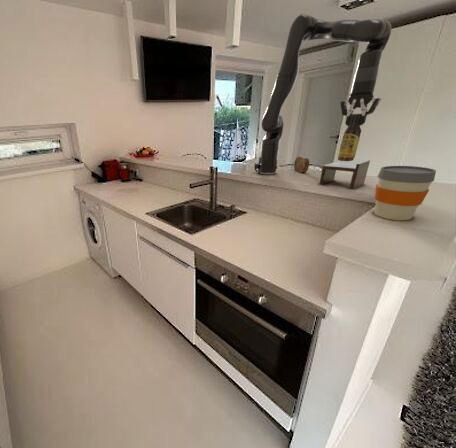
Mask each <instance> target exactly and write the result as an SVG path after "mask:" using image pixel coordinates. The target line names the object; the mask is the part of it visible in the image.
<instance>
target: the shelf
mask: <svg viewBox="0 0 456 448" xmlns="http://www.w3.org/2000/svg"><path fill="white" fill-rule="evenodd" d="M370 162H371V160H370V159H367V160H364V161H361V162H358V163H350V162H338V161H337V162H336V161H334V162H330V163H326V164H324V165H322V167H321V173H320V179H319V184H318V185H325V184H329V183H332V182H333V181H335V177H336V173H337V172H336V171H338V172H339V171H340V172H348V173H349V172H351V173H352V176H351V180H350V184H349V189H350V190H354V189H357V188H358V187H360V186H363V185H365V181H366V177H367V174H368V169H369V167H370Z"/></svg>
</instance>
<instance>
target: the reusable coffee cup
mask: <svg viewBox="0 0 456 448" xmlns="http://www.w3.org/2000/svg"><path fill="white" fill-rule="evenodd" d="M436 173H437V170H436V169H433V168H431V167H423V166H415V165H413V166H412V165H386V166H381V168H380V169H379V172H378V175H377V178H378V181H377V184H376V185H375V191H374V200H375V205H374V215H376V216H377V217H380V218H383V219H388V220H394V221H409V220H411V219H412V218H413V216H414V215H415V212H416V210H417V209H418V207H419V206H421V205H422V204H423V202H424V200H425V199H426V197H427V195H428V193H429V191H430V189H429V188H430V186H431V184H432V183H433V182H435V177H436Z"/></svg>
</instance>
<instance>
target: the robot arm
mask: <svg viewBox="0 0 456 448" xmlns="http://www.w3.org/2000/svg"><path fill="white" fill-rule="evenodd" d="M391 34H392V23H391V22H389V21H388V20H383V19H374V18H373V19H362V20H361V19H339V20H332V21H328V20H327V21H326V20H322V19H318V18H315V16H312V15H309V14H304V13H303V14H302V13H301V14H299V15H298V16H296V18H294V20H293V21H292V23H291V25H290V28H289V32H288V36H287V41H286V44H285V45H286V46H285V50H284V53H283V57H282V60H281V64H280V67H279V71H278V73H277V76H276V80H275V83H274V87H273V90H272V92H271V93H272V94H271V95H270V99H269V103H268V106H267V108H266V110H265V113H264V115H263V118H262V121H261V129H262V130H263V132H265V133H266V134H265V136H264V137H263V139H262V142H261V151H260V157H259V158H258V162H255V163H254V171H255V172H256V173H258V174H260V175H267V176H270V175H275V174H277V170H278V159H279V150H280V143H281V139H282V138H283V137H282V136H283V130H284V125H285V124H284V123H285V119H284V117H283V115H282V114H280V113H281V110H282V107H283V105H284V103H285V102H286V100H287V99H288V97H289V96H290V94H291V93H292V91H293V89H294V86H295V84H296V81H297V78H298V76H299V54H300V49H301V47H302V44H303V42H307V41H314V40H331V41H335V42H337V41H338V42H348V43H349V42H356V43H357V42H358V43H366V47H365V51H363V52H362V53H361V54H360V55H359V58H358V61H357V66H356V71H355V73H354V77H353V80H352V86H351V91H350V95H349V98H348V99H346V100H343V101H341V102H340V109H341V114H342V116H345V125H346V127H348V126H349V123H350V119H351V114H354V112H355V111H356V109H358V108H360V111H361V114H362V116H361V118H360V123H359V125H360V126H363V125H364V124H365V123H366V120H367V116H369V115H372V114H373V113H374V112H375V111H376V108H377V107H378V105H379V104H380V102H381V101H382V98H381V97H374V92H375V87H376V85H377V84H376V83H377V79H378V75H379V69H380V65H381V61H382V55H383V53H384V51H385V48H386V46H387V44H388V42H389V39H390V37H391ZM370 103H372V104H371V106H370V107H369V106H368V105H369V104H370ZM348 104H349V105H350V106H349V108H348ZM368 108H369V109H368Z"/></svg>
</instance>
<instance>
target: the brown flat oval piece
mask: <svg viewBox="0 0 456 448" xmlns="http://www.w3.org/2000/svg"><path fill="white" fill-rule="evenodd" d="M293 166H294V167H293V169H294V170H295V171H297V172H298V173H307V171H308V170H309V167H310V159H309V158H308V157H304V156H300V155H299V156H297V157H296V158H295V160H294V164H293Z"/></svg>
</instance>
